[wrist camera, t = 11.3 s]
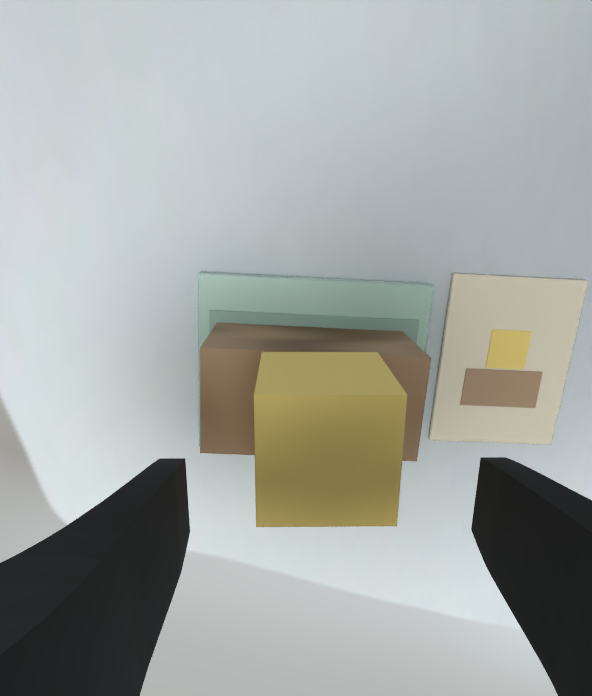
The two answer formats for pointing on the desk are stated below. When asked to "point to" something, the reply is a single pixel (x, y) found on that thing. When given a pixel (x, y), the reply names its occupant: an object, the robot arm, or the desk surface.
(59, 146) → the desk surface
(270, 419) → the ochre cube
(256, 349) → the walnut brick
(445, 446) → the desk surface
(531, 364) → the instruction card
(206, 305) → the baseplate
